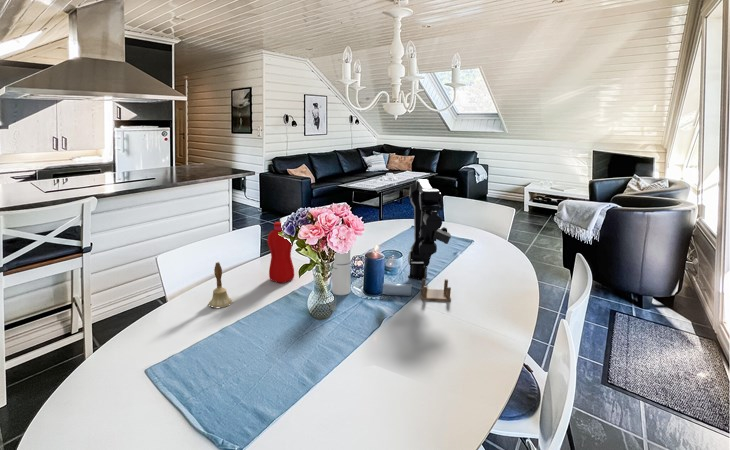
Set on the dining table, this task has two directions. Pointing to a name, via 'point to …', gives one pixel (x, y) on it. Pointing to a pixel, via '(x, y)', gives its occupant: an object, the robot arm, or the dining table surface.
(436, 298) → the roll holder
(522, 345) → the dining table surface
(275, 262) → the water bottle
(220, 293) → the hand bell
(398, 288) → the cylinder
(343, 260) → the cylindrical container
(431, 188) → the robot arm
